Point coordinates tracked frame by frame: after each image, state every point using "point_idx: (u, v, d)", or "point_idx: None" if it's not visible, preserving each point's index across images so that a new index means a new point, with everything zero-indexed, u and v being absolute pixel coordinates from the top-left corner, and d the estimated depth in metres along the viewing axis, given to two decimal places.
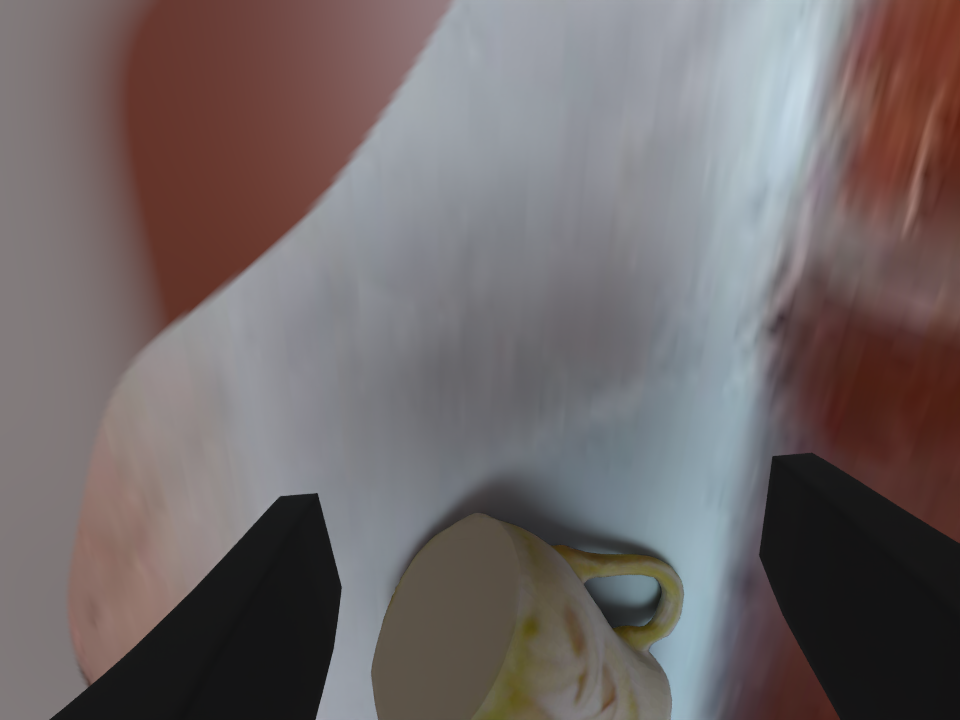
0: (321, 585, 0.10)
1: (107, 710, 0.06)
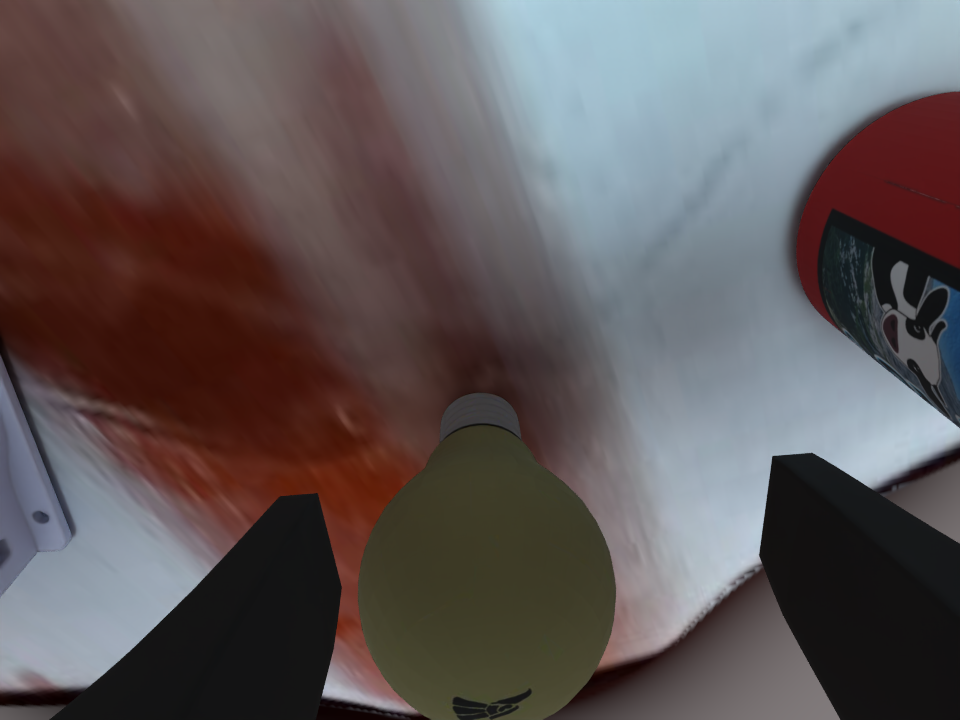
0: (321, 585, 0.10)
1: (107, 709, 0.06)
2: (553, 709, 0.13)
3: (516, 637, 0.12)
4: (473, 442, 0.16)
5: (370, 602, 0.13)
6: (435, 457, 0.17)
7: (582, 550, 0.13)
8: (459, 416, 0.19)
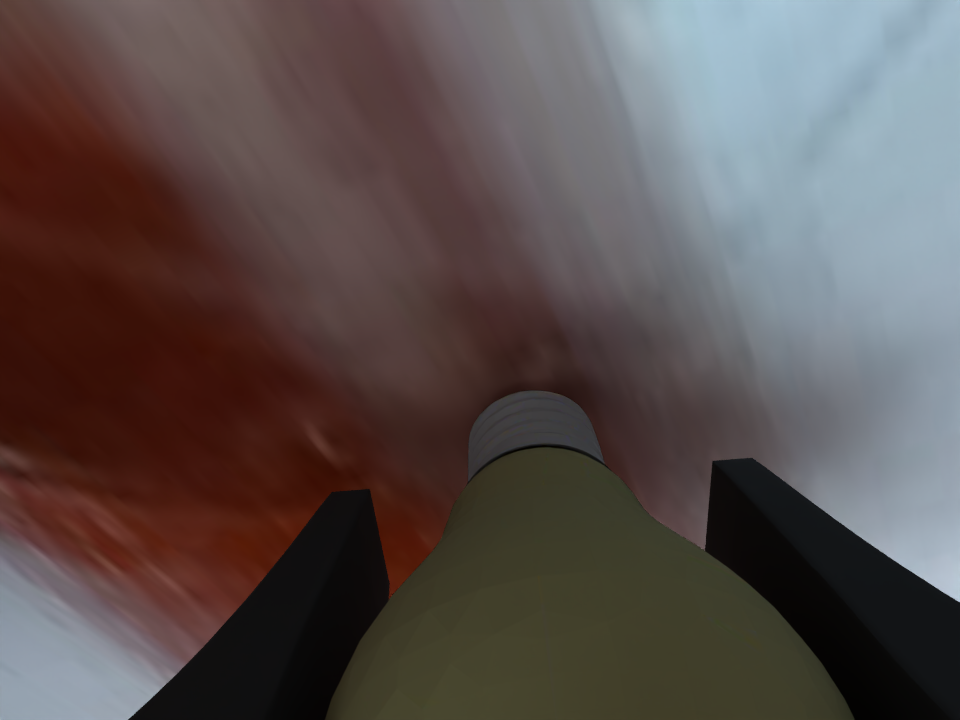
0: (374, 581, 0.10)
1: (192, 704, 0.06)
2: None
3: None
4: (530, 485, 0.09)
5: None
6: (461, 514, 0.09)
7: None
8: (498, 432, 0.11)
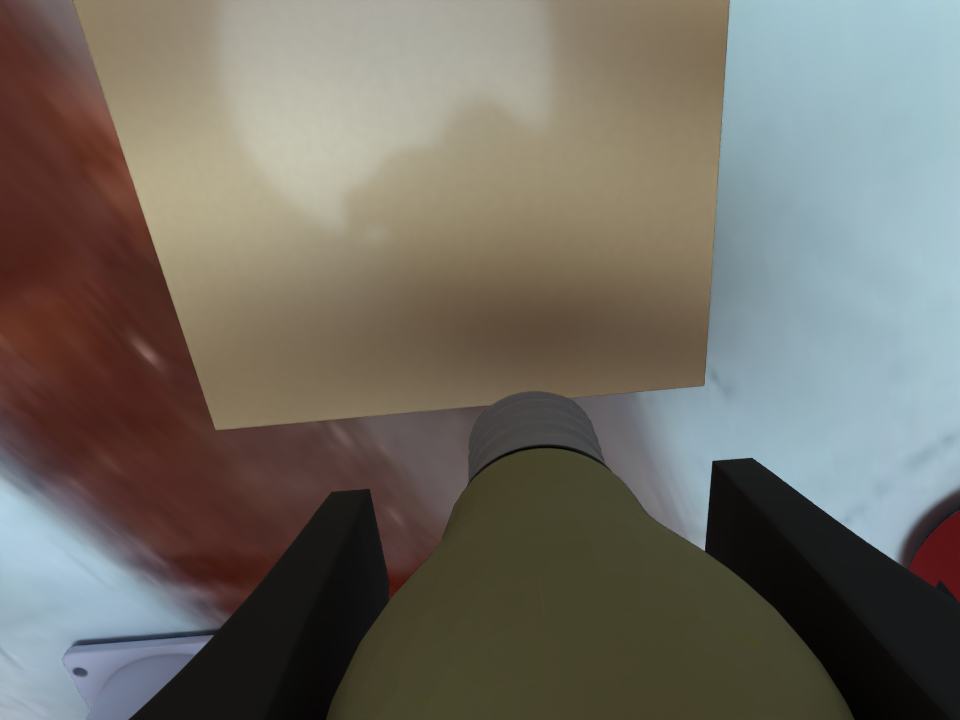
0: (374, 581, 0.10)
1: (192, 704, 0.06)
2: None
3: None
4: (531, 485, 0.09)
5: None
6: (461, 515, 0.09)
7: None
8: (499, 433, 0.11)
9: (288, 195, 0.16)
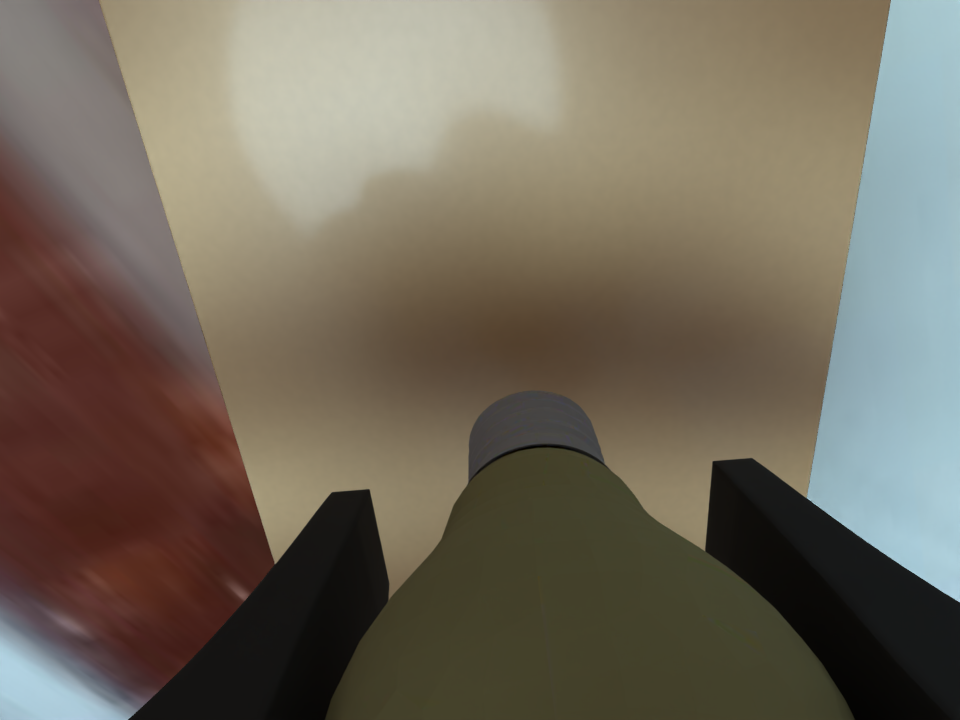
0: (374, 581, 0.10)
1: (192, 703, 0.06)
2: None
3: None
4: (531, 485, 0.09)
5: None
6: (461, 515, 0.09)
7: None
8: (499, 432, 0.11)
9: (398, 496, 0.16)
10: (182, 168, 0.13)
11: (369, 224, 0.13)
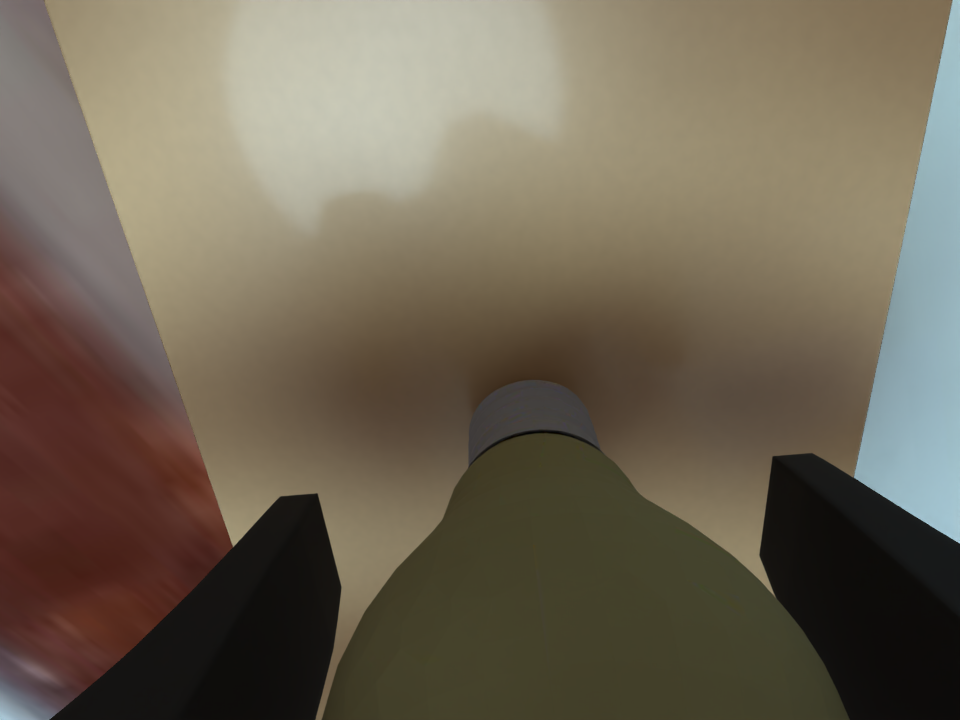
0: (321, 585, 0.10)
1: (107, 709, 0.06)
2: None
3: None
4: (528, 467, 0.09)
5: None
6: (461, 496, 0.09)
7: None
8: (498, 420, 0.11)
9: (390, 543, 0.15)
10: (143, 186, 0.11)
11: (356, 249, 0.12)
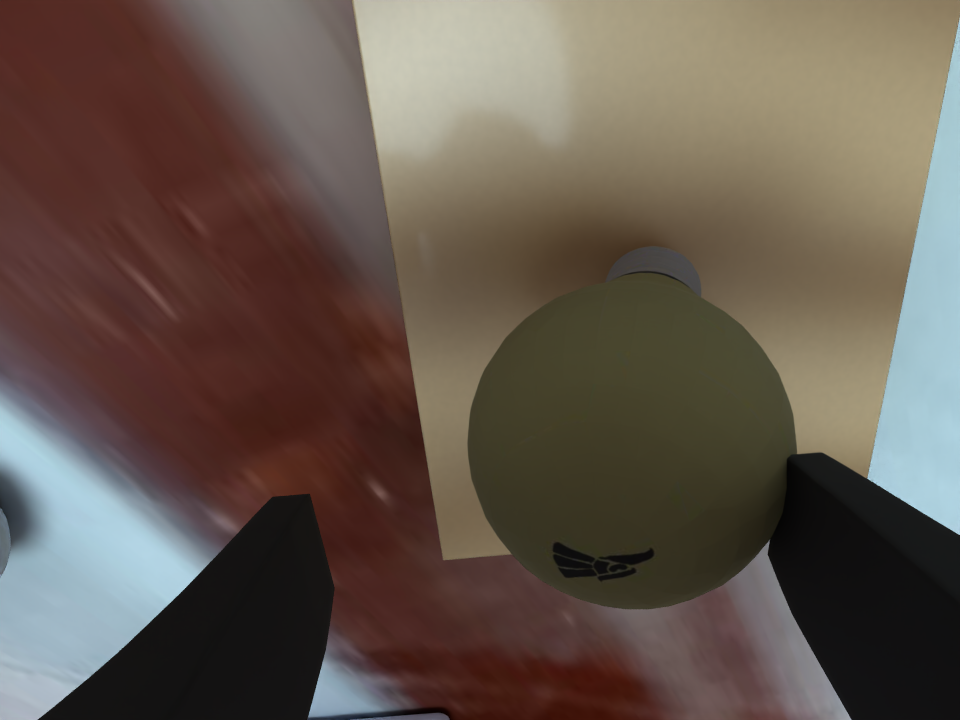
0: (313, 585, 0.10)
1: (95, 710, 0.06)
2: (686, 589, 0.10)
3: (638, 478, 0.09)
4: None
5: (474, 425, 0.11)
6: None
7: (748, 391, 0.09)
8: (625, 269, 0.16)
9: None
10: (392, 93, 0.16)
11: (539, 140, 0.16)
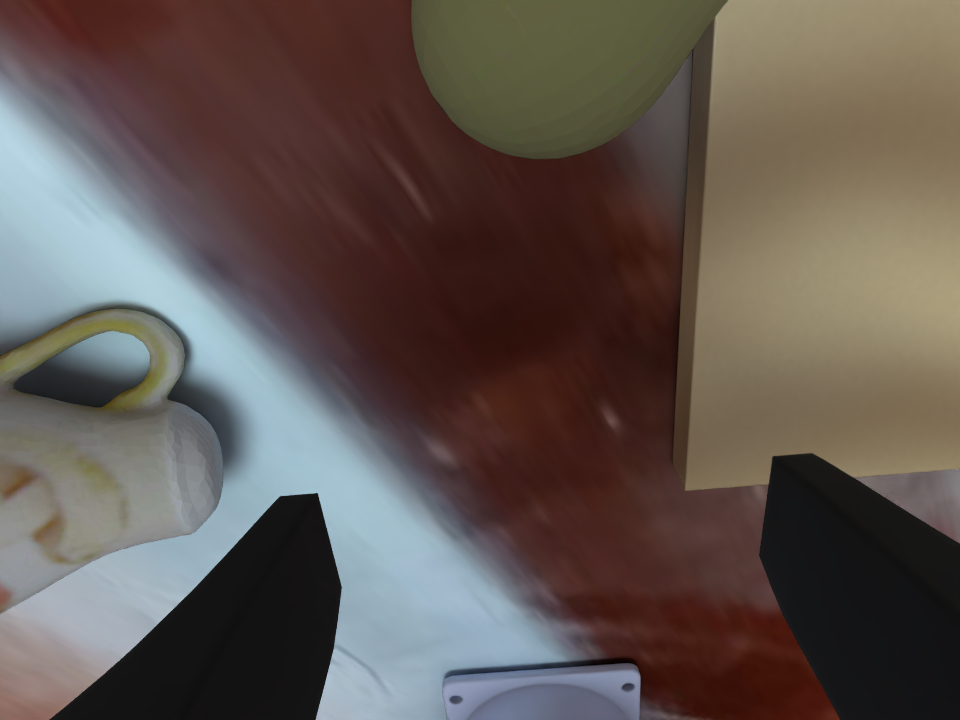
0: (321, 585, 0.10)
1: (107, 709, 0.06)
2: None
3: None
4: None
5: None
6: None
7: None
8: None
9: (830, 293, 0.18)
10: None
11: (897, 3, 0.15)
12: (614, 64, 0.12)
